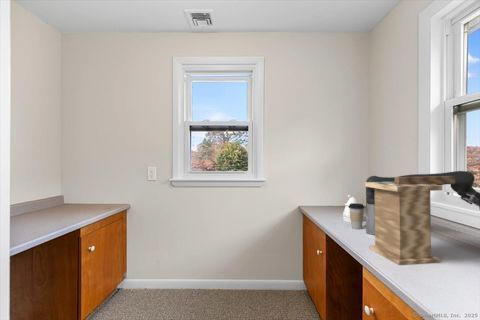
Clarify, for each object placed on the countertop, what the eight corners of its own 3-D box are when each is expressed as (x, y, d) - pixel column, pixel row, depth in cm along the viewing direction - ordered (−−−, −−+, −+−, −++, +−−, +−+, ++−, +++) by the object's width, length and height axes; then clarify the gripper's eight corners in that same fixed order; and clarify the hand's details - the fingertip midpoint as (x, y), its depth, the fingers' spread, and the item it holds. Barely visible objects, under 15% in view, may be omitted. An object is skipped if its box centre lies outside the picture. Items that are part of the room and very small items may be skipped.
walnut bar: (449, 182, 130) (449, 176, 130) (455, 183, 127) (455, 176, 127) (394, 184, 127) (394, 177, 127) (399, 184, 124) (399, 177, 124)
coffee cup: (364, 227, 187) (363, 203, 187) (365, 230, 178) (365, 205, 178) (348, 226, 190) (348, 202, 190) (348, 229, 181) (348, 205, 181)
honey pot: (344, 222, 201) (344, 196, 201) (341, 218, 214) (341, 194, 214) (364, 223, 199) (364, 196, 199) (360, 219, 212) (359, 194, 212)
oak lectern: (404, 246, 145) (403, 180, 145) (443, 263, 121) (442, 184, 121) (365, 248, 143) (365, 181, 143) (398, 265, 119) (397, 185, 119)
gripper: (484, 200, 138) (456, 183, 137) (515, 205, 124) (486, 186, 123) (477, 214, 138) (449, 198, 136) (508, 220, 124) (478, 202, 122)
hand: (466, 192), depth 129 cm, fingers open, 8 cm apart
